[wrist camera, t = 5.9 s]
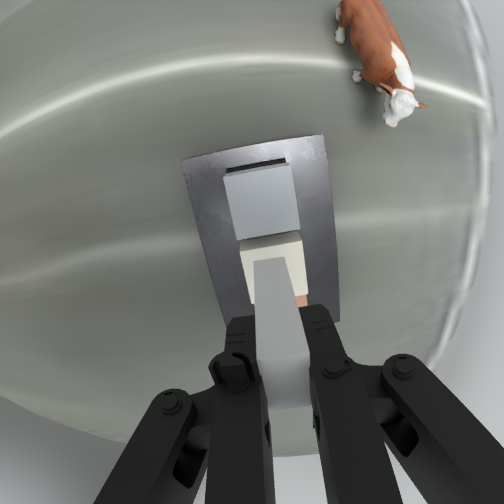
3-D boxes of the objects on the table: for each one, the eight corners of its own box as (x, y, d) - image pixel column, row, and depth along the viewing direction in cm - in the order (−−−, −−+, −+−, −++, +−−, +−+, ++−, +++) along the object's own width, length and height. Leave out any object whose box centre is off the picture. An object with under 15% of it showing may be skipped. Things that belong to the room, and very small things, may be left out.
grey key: (228, 169, 23) (223, 177, 18) (282, 159, 23) (290, 165, 18) (239, 219, 25) (237, 240, 20) (290, 210, 24) (300, 229, 20)
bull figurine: (354, 129, 23) (394, 128, 16) (320, 9, 18) (343, -29, 11) (392, 125, 23) (439, 125, 16) (359, 9, 18) (392, -23, 10)
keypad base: (188, 158, 25) (181, 160, 22) (315, 134, 24) (323, 134, 21) (232, 323, 32) (230, 340, 29) (333, 306, 31) (339, 321, 28)
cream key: (241, 229, 25) (239, 251, 20) (292, 220, 25) (302, 240, 20) (251, 273, 27) (251, 303, 22) (298, 265, 27) (308, 293, 22)
